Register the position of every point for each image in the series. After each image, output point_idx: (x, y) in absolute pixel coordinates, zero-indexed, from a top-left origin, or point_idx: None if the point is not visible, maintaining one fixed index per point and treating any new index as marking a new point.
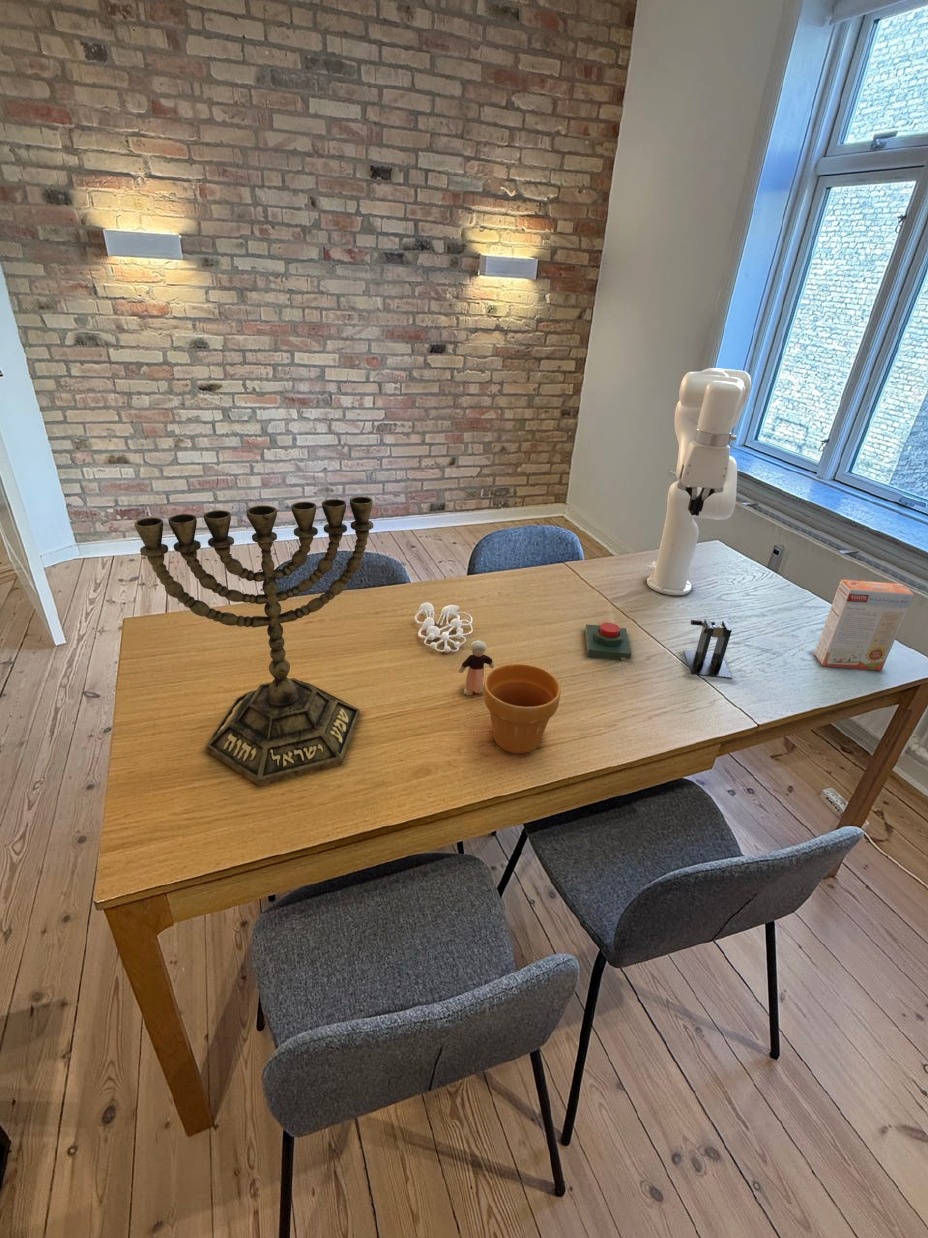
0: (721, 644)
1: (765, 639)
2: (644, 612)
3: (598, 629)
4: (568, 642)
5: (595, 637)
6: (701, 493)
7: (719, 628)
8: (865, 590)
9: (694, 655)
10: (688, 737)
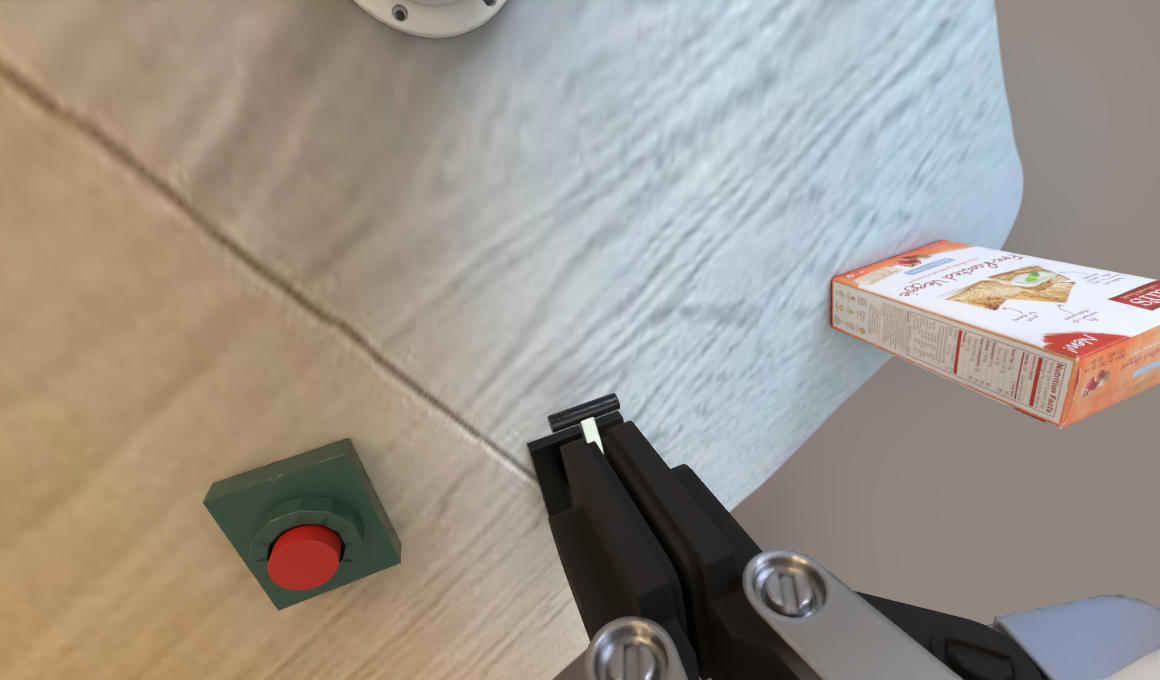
0: None
1: (739, 253)
2: (371, 250)
3: (266, 557)
4: (193, 560)
5: None
6: (787, 665)
7: None
8: (1096, 411)
9: (557, 459)
10: (554, 673)
